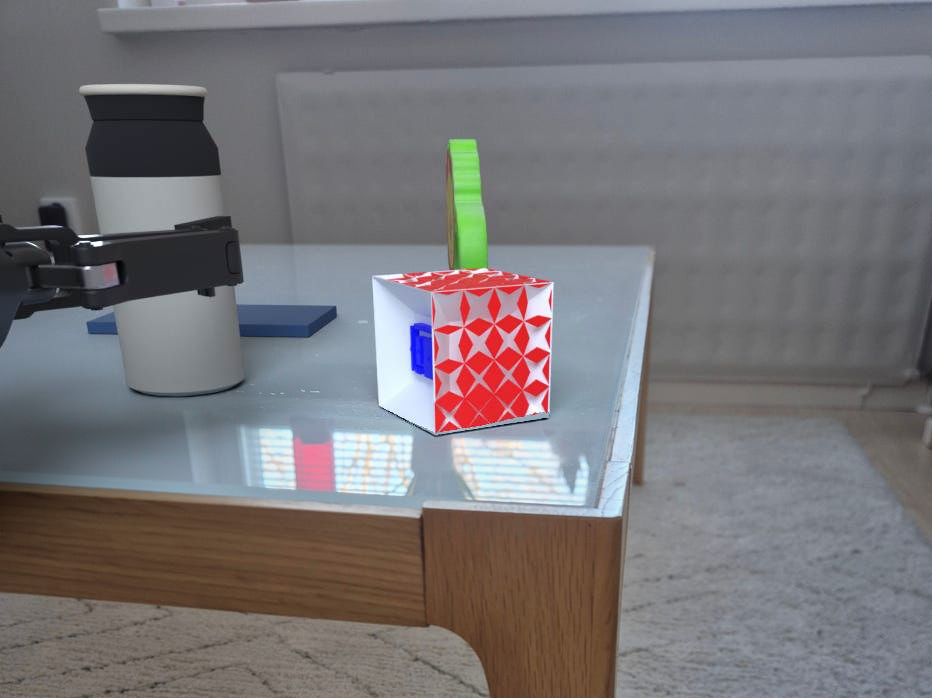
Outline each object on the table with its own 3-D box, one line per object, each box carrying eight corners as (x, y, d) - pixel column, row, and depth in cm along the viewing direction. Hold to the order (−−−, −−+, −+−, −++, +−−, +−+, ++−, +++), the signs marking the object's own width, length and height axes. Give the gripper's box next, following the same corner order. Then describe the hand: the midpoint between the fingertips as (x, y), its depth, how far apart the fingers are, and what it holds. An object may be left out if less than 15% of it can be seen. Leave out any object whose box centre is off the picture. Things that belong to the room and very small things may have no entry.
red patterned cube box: (549, 418, 58) (553, 281, 54) (435, 436, 54) (431, 291, 50) (484, 392, 64) (484, 267, 60) (378, 406, 60) (371, 275, 57)
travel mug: (231, 398, 62) (191, 83, 54) (111, 398, 62) (52, 83, 54) (255, 372, 69) (224, 89, 61) (147, 372, 69) (101, 90, 61)
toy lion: (509, 364, 72) (513, 139, 65) (438, 365, 71) (434, 138, 64) (488, 328, 86) (489, 139, 79) (429, 329, 85) (424, 139, 78)
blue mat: (88, 333, 83) (85, 321, 83) (138, 313, 93) (136, 303, 93) (309, 337, 82) (308, 325, 81) (337, 316, 91) (336, 305, 91)
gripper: (-391, 386, 38) (-74, 306, 57) (201, 399, 36) (329, 311, 55) (-480, 182, 35) (-111, 168, 54) (171, 184, 33) (319, 168, 51)
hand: (113, 240), depth 54 cm, fingers open, 13 cm apart
